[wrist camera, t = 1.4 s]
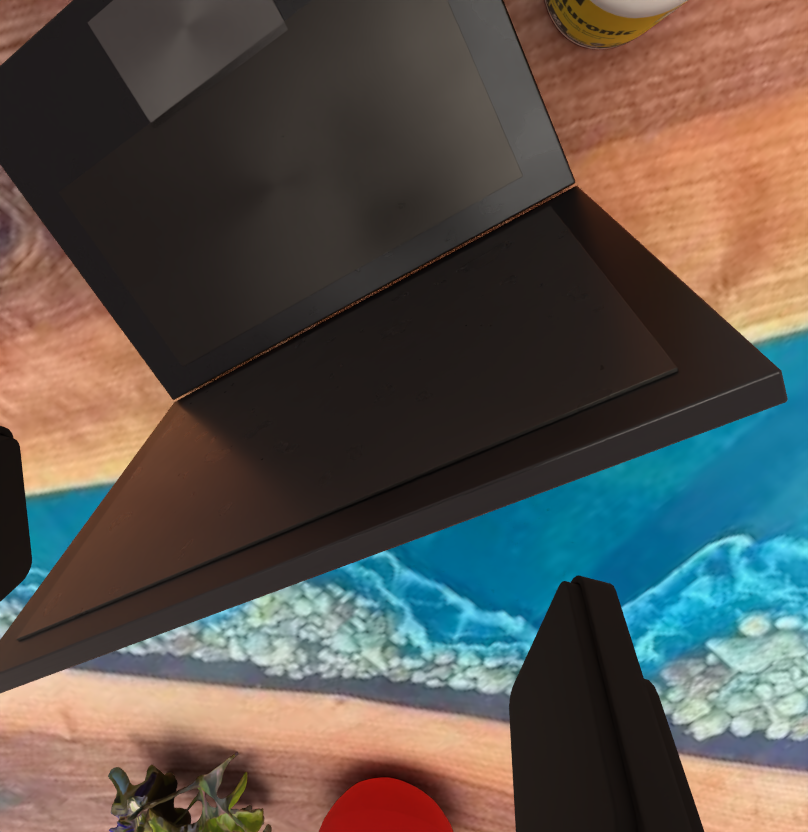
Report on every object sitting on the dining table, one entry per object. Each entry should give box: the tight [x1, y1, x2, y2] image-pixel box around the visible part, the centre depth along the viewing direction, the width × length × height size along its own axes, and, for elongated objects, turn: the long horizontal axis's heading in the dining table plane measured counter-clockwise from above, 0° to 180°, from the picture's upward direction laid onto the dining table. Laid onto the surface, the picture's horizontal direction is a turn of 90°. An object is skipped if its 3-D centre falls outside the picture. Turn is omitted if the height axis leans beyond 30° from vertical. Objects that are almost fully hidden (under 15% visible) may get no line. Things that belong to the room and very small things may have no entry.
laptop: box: [0, 0, 575, 400], centre depth 26 cm, size 17×24×2 cm
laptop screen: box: [0, 186, 787, 693], centre depth 21 cm, size 17×24×1 cm
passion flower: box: [108, 752, 272, 832], centre depth 45 cm, size 11×11×12 cm
